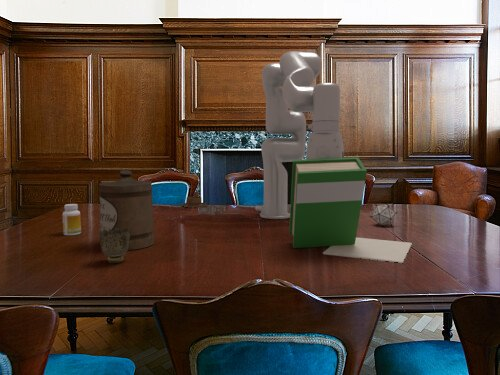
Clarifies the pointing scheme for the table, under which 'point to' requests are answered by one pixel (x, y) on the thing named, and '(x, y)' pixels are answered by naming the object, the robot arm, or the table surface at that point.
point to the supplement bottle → (71, 220)
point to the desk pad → (372, 250)
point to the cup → (114, 243)
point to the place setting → (194, 201)
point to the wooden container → (128, 209)
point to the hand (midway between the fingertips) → (324, 192)
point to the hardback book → (326, 201)
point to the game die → (383, 214)
